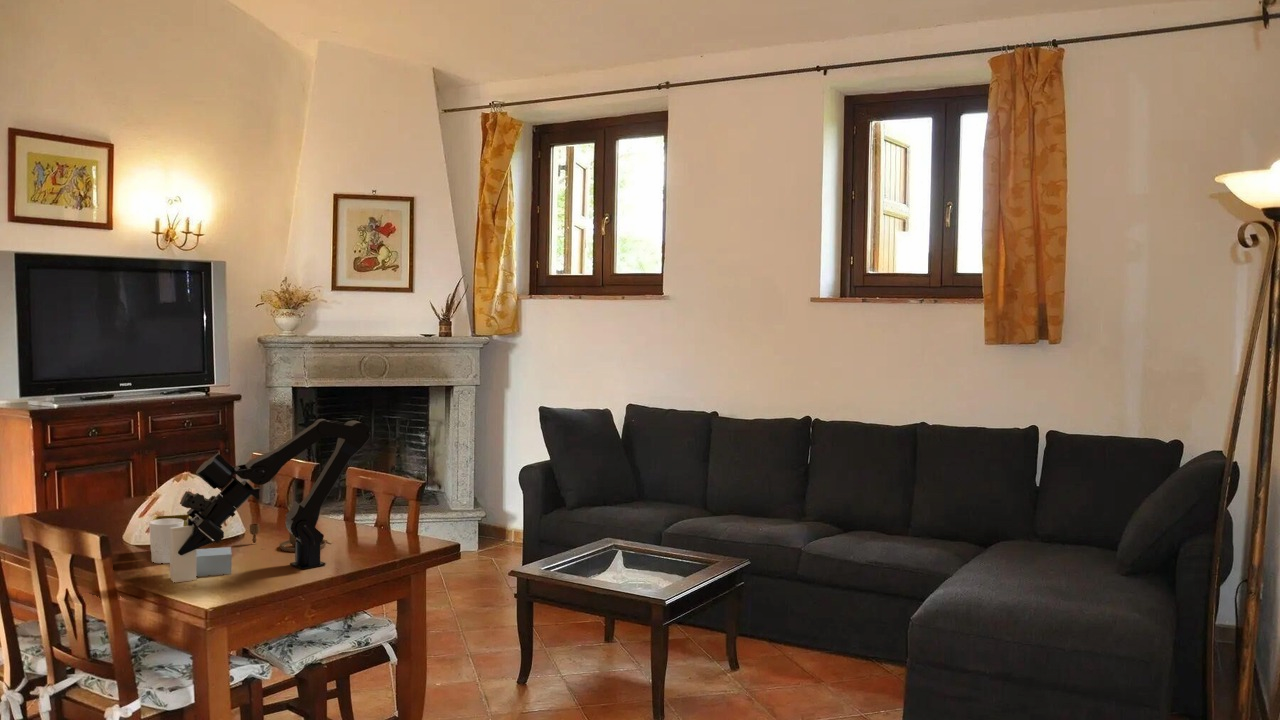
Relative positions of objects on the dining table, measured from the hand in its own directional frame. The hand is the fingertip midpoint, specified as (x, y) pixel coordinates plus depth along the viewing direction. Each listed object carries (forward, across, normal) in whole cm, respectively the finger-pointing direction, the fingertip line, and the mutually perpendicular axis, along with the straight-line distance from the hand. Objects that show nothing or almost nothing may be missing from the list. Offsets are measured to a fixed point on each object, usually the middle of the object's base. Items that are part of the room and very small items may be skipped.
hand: (177, 551), depth 233 cm
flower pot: (+3, -30, +6) cm, 31 cm away
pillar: (+4, 0, +6) cm, 7 cm away
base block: (-1, -4, +11) cm, 12 cm away
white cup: (+5, -21, +5) cm, 22 cm away
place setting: (-18, -24, +28) cm, 41 cm away
